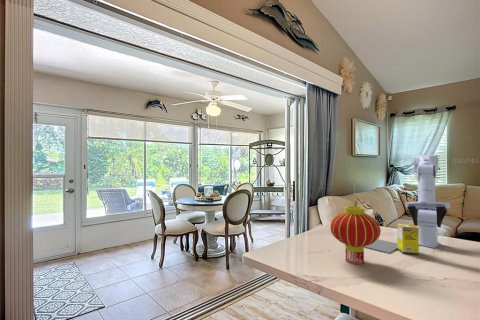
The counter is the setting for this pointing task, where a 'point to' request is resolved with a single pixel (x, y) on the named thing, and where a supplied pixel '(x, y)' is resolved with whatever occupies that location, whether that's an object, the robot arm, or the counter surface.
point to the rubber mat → (383, 246)
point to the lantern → (355, 231)
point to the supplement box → (408, 239)
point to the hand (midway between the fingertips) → (426, 226)
